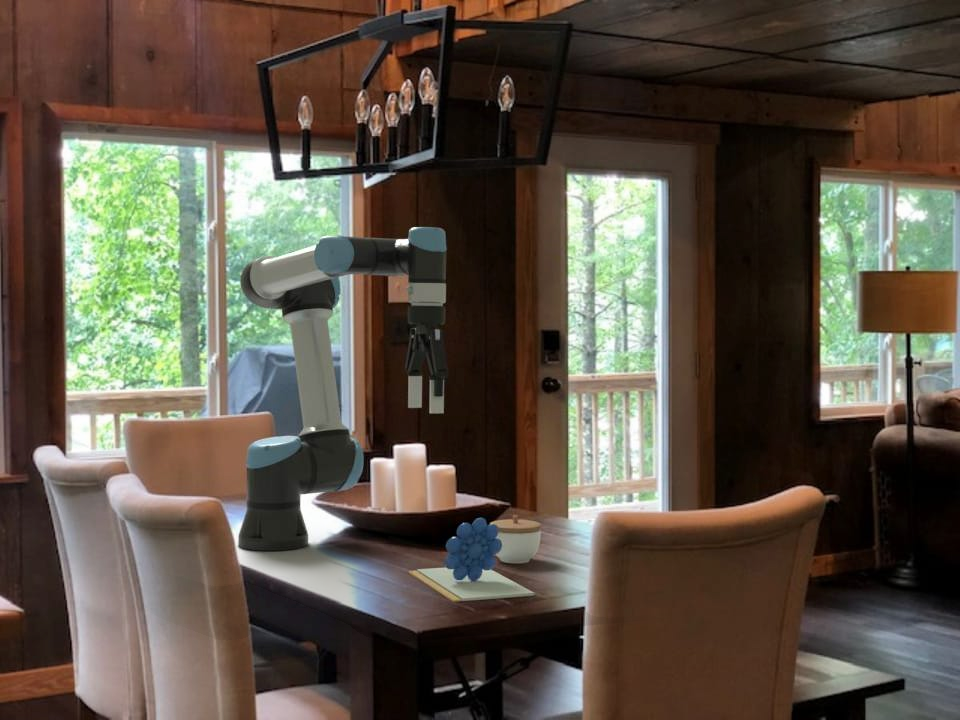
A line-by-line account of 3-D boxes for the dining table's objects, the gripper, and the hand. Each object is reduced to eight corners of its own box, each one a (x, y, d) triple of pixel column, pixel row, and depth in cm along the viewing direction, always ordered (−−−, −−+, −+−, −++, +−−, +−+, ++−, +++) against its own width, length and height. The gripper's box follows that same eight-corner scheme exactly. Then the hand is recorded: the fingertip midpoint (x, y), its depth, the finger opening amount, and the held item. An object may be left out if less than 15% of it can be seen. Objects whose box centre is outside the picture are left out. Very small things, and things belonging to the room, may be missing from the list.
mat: (416, 571, 247) (416, 569, 247) (482, 567, 252) (482, 565, 252) (462, 601, 223) (462, 598, 223) (534, 595, 228) (534, 592, 228)
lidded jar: (541, 566, 254) (542, 520, 254) (489, 565, 255) (489, 519, 254) (540, 555, 265) (540, 512, 265) (489, 555, 265) (490, 511, 265)
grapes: (492, 574, 244) (493, 513, 243) (506, 581, 237) (507, 518, 237) (436, 578, 239) (437, 516, 239) (448, 585, 233) (449, 521, 233)
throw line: (408, 572, 247) (408, 571, 247) (415, 572, 247) (415, 570, 247) (453, 601, 222) (453, 600, 222) (460, 601, 223) (461, 599, 223)
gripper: (390, 304, 261) (389, 405, 262) (428, 304, 237) (427, 416, 238) (424, 304, 263) (423, 405, 264) (465, 305, 240) (464, 415, 241)
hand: (425, 410), depth 251 cm, fingers open, 13 cm apart
